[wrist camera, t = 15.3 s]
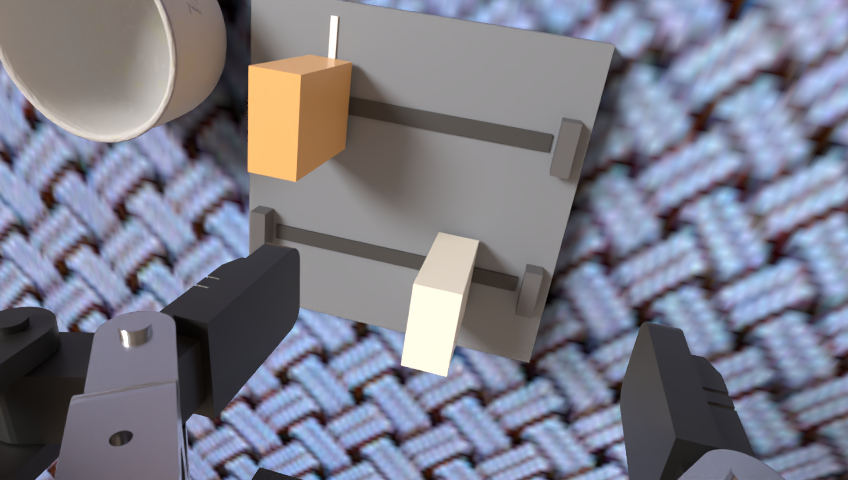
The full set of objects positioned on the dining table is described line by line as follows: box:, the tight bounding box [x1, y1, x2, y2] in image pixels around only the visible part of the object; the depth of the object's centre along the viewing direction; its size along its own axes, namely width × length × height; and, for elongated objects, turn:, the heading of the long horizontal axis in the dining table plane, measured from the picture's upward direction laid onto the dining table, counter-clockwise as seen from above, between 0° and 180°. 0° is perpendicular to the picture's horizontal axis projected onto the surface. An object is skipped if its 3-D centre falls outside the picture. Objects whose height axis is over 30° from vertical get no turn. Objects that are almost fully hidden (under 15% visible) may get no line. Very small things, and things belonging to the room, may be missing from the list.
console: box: [249, 0, 615, 363], centre depth 33 cm, size 20×20×3 cm
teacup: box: [0, 0, 227, 142], centre depth 31 cm, size 14×11×8 cm
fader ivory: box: [401, 232, 479, 377], centre depth 31 cm, size 2×5×7 cm, turn 171°
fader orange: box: [248, 55, 352, 182], centre depth 28 cm, size 2×5×7 cm, turn 171°
